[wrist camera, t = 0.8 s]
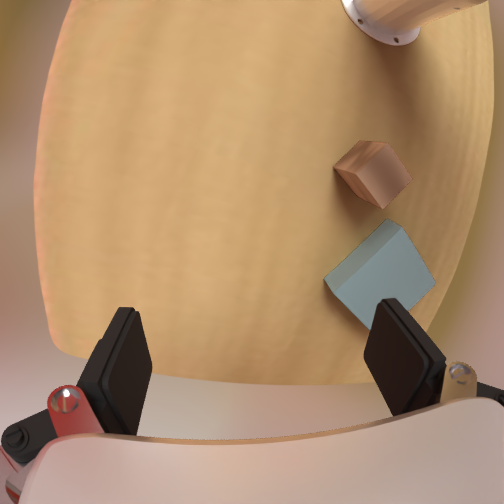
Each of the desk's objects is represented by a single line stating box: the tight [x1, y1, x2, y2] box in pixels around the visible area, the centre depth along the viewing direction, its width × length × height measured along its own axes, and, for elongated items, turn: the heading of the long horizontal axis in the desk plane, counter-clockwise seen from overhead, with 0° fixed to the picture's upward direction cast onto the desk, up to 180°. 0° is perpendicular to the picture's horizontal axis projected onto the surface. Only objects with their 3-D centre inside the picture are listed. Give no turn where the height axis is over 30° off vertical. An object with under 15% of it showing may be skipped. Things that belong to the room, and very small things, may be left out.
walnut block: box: [333, 141, 412, 209], centre depth 30 cm, size 5×5×7 cm
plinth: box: [324, 218, 436, 330], centre depth 38 cm, size 12×12×4 cm
